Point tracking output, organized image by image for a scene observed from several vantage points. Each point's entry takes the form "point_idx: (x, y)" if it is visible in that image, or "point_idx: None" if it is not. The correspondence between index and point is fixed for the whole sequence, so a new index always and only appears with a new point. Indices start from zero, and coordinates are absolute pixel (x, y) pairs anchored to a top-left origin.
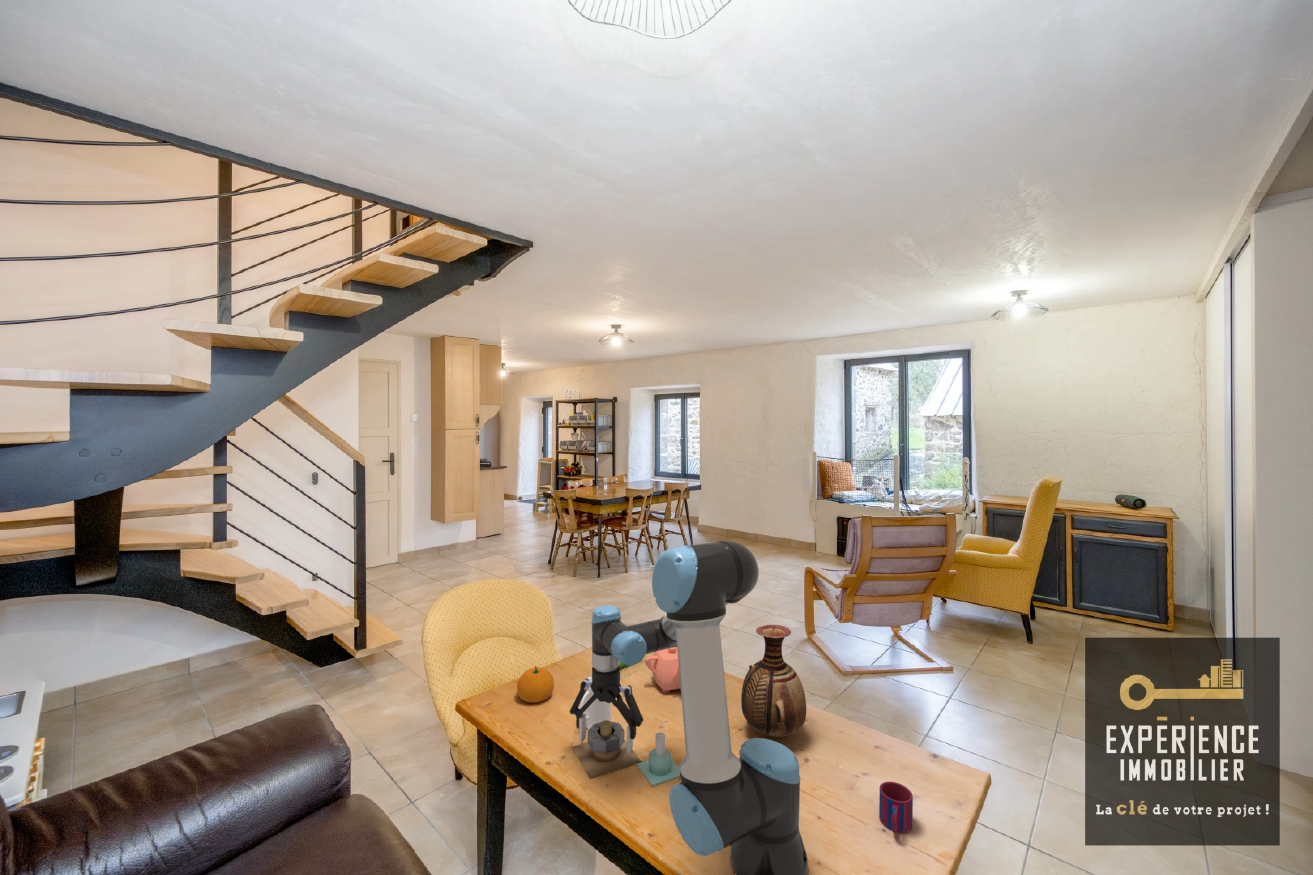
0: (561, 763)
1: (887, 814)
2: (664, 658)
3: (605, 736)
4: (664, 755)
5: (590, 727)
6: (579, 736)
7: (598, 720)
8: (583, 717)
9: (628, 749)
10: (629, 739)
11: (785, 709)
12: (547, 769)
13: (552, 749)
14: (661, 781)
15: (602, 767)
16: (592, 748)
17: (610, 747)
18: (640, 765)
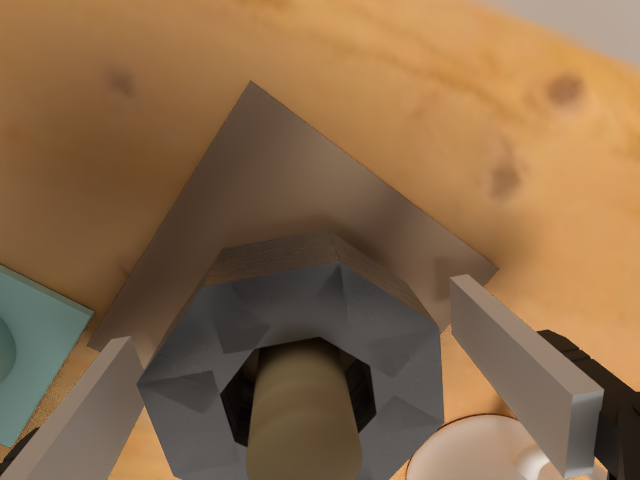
0: (488, 124)
1: None
2: None
3: (257, 345)
4: None
5: (480, 424)
6: (487, 293)
7: (459, 475)
8: (565, 425)
9: (107, 351)
10: (55, 409)
11: None
12: (543, 32)
13: (591, 205)
14: None
15: (241, 198)
16: (331, 234)
17: (195, 291)
18: (60, 313)
